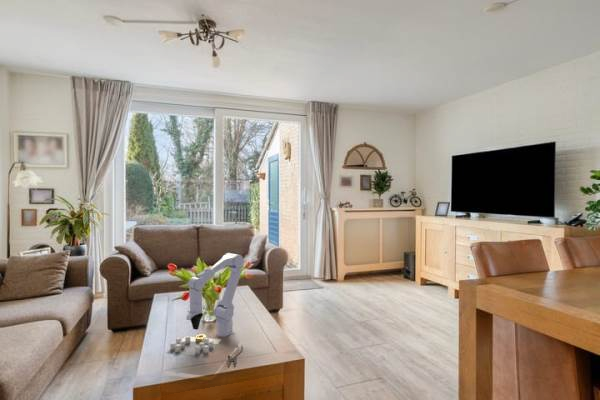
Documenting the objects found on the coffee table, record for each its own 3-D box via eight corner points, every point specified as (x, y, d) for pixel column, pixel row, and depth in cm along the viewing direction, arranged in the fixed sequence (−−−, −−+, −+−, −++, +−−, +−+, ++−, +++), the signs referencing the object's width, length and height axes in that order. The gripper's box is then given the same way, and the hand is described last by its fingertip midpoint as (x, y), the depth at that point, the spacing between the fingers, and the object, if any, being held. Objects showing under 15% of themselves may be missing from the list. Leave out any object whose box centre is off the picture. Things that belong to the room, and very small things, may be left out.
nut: (193, 342, 163) (193, 338, 163) (197, 337, 168) (197, 333, 168) (203, 343, 162) (203, 339, 162) (208, 338, 167) (208, 334, 167)
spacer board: (185, 338, 170) (185, 330, 170) (221, 341, 166) (221, 333, 166) (165, 355, 152) (165, 346, 152) (205, 359, 149) (205, 350, 149)
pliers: (241, 343, 164) (249, 363, 145) (241, 345, 164) (249, 365, 145) (222, 346, 160) (227, 367, 142) (222, 348, 160) (227, 369, 142)
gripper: (195, 296, 167) (195, 322, 168) (180, 306, 153) (180, 334, 153) (208, 297, 166) (208, 323, 166) (194, 307, 152) (194, 335, 152)
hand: (195, 328), depth 160 cm, fingers closed
